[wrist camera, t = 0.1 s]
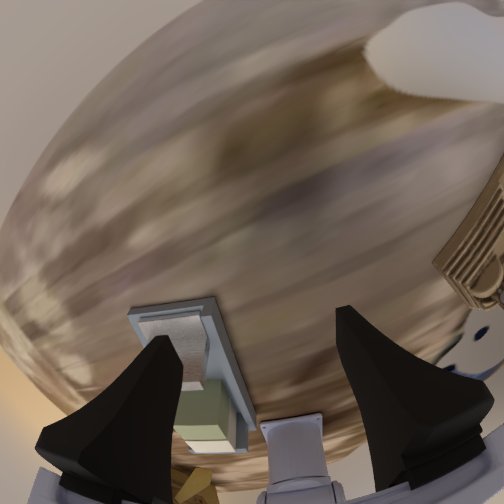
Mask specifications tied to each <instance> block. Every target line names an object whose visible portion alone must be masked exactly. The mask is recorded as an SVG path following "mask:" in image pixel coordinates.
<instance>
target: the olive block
mask: <svg viewBox="0 0 504 504" xmlns="http://www.w3.org/2000/svg"><path fill="white" fill-rule="evenodd" d="M228 408H229V394H228V392H227V390H226V388H225V386H224V383H223V381H222V379H217V380H205V385H204V390H192V391H181V394H180V398H179V403H178V407H177V412H176V417H175V421H174V426H173V428H174V429H175V430H176V432H177V433H178V434H179V435H180V436H181V437H182V438H183V439H184V440H214V439H227V426H228Z"/></svg>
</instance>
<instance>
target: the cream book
mask: <svg viewBox="0 0 504 504" xmlns="http://www.w3.org/2000/svg"><path fill="white" fill-rule="evenodd" d="M236 419H237V411H236V409H235V407H234V405H233V403H232V401H231V399H230V398H229V408H228V426H227V439H214V440H185V442H186V443H187V444H188V445H189V446H190V447H191V448H192V449H193V450H194V451H195V452H197V453H218V452H236Z"/></svg>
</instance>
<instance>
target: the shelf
mask: <svg viewBox="0 0 504 504" xmlns="http://www.w3.org/2000/svg"><path fill="white" fill-rule="evenodd" d="M195 311H200V312H201V318H202V321H203V324H204V326H205V329H206V331H207V334H208V337H209V339H210V342H211V344H210V351H209V358H208V364H207V371H206V378H205V380H217V379H222V381H223V383H224V386H225V388H226V390H227V392H228V394H229V398H230V399H231V401H232V403H233V405H234V407H235V409H236V411H237V419H236V452H218V453H197V452H195V451H194V450H193V449H192V448H191V447H190V446H189V449H188V450H189V451H190V452H191V453H192V454H228V453H247V452H248V428H249V430H250V431H253V430H257V428H256V412H255V410H254V407H253V404H252V402H251V399H250V397H249V394H248V391H247V389H246V386H245V383H244V381H243V378H242V375H241V372H240V370H239V367H238V364H237V361H236V359H235V356H234V353H233V350H232V347H231V344H230V341H229V339H228V336H227V333H226V330H225V327H224V324H223V321H222V318H221V315H220V312H219V309H218V306H217V303H216V300H215V297H210V298H203V299H197V300H190V301H184V302H177V303H170V304H163V305H155V306H148V307H140V308H132V309H130V310H129V312H128V314H127V317H128V319H129V321H130V323H131V325H132V327H133V329H134V330H135V332H136V334H137V336H138V338H139V340H140V341H141V343H142V345H143V347H144V348H145V347H146V344H147V340H146V338H145V336H144V335H143V333H142V331H141V329H140V327H139V325H138V323H137V322H138V320H139V318H148V317H156V316H164V315H172V314H180V313H187V312H195Z"/></svg>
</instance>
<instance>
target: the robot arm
mask: <svg viewBox="0 0 504 504" xmlns="http://www.w3.org/2000/svg"><path fill="white" fill-rule="evenodd" d="M336 344H337V348H338V352H339V355H340V359H341V363H342V365H343V368H344V370H345V373H346V375H347V378H348V380H349V383H350V385H351V388H352V390H353V393H354V395H355V398H356V400H357V403H358V405H359V408H360V411H361V415H362V419H363V423H364V427H365V431H366V436H367V440H368V445H369V450H370V455H371V461H372V467H373V474H374V480H375V489H376V493H373V494H370V495H366V496H363V497H359V498H356V499H352V500H348V501H346V500H345V495H344V490H343V487H342V485H341V483H339V482H337V481H332V483H331V478H330V476H328V471H327V466H326V460H325V455H324V449H323V444H322V414H321V413H317V414H312V415H306V416H301V417H295V418H289V419H282V420H275V421H267V422H261V423H260V428H261V430H262V433H263V435H264V437H265V440H266V442H267V445H268V464H269V484H270V485H267V491H263V492H262V493H261V494H260V495H259V496H258V498H257V504H484V503H485V502H486V501H488V500H489V499H490V498H491V497H493V496H494V495H495V494H497V493H498V492H499V491H501V490H502V489H503V488H504V423H503V424H502V425H501V426H500V427H498V428H497V429H495V430H494V431H492V432H491V433H490V434H488V435H487V436H486V437H484V438H483V439H482V437H481V436H480V433H481V432H482V428H481V426H480V423H481V421H482V420H483V419H484V418H485V416H486V415H487V414H488V412H489V411H490V409H491V408H492V406H493V404H494V398H493V396H492V394H491V393H490V391H489V389H488V388H487V386H486V385H485V384H484V382H483V381H481V380H477V379H473V378H469V377H465V376H461V375H458V374H455V373H452V372H449V371H446V370H444V369H441V368H439V367H437V366H435V365H432V364H430V363H428V362H426V361H424V360H422V359H420V358H418V357H416V356H415V355H413V354H411V353H410V352H408V351H406V350H405V349H403V348H402V347H400V346H399V345H397V344H396V343H394V342H393V341H392V340H390V339H389V338H388V337H386V336H385V335H384V334H382V333H381V332H380V331H379V330H378V329H376V328H375V327H374V326H373V325H372V324H370V323H369V322H368V321H367V320H366V319H365V318H364V317H362V316H361V315H360V314H359V313H358V312H357V311H356V310H355V309H354V308H353V307H352V306H350V305H348V306H343V307H339V308H336ZM183 368H184V365H183V364H182V362H181V360H180V358H179V356H178V354H177V352H176V350H175V348H174V346H173V344H172V342H171V340H170V338H169V336H168V335H158V336H155V337H154V338H153V339H152V340H151V341H150V342H149V343H148V345H147V346H146V347H145V348H144V349H143V350H142V351H141V353H140V354H139V355H138V356H137V357H136V358H135V359H134V361H133V362H132V363H131V364H130V365H129V366H128V367H127V368H126V369H125V370H124V371H123V372H122V374H121V375H120V376H119V377H118V378H117V379H116V380H115V381H114V382H113V383H112V384H111V385H110V386H109V387H107V388H106V389H105V390H104V391H103V392H102V393H101V394H99V395H98V396H97V397H96V398H94V399H93V400H92V401H90V402H89V403H87V404H86V405H85V406H83V407H82V408H80V409H79V410H77V411H76V412H74V413H72V414H71V415H69V416H67V417H65V418H63V419H61V420H59V421H57V422H55V423H53V424H51V425H48V426H46V427H44V428H43V429H42V432H41V434H40V436H39V439H38V441H37V443H36V446H35V450H36V451H37V453H38V454H39V455H41V456H42V457H43V458H44V459H45V460H47V461H48V462H49V463H51V464H52V465H53V466H55V467H56V468H58V469H59V470H61V471H62V472H63V473H62V476H59V475H58V474H56V473H54V472H51V471H49V470H47V469H45V468H43V467H40V468H39V471H38V473H37V476H36V479H35V482H34V485H33V488H32V491H31V494H30V497H29V500H28V503H27V504H173V497H172V486H171V446H172V433H173V426H174V421H175V417H176V412H177V407H178V403H179V398H180V394H181V389H182V382H183Z"/></svg>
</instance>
